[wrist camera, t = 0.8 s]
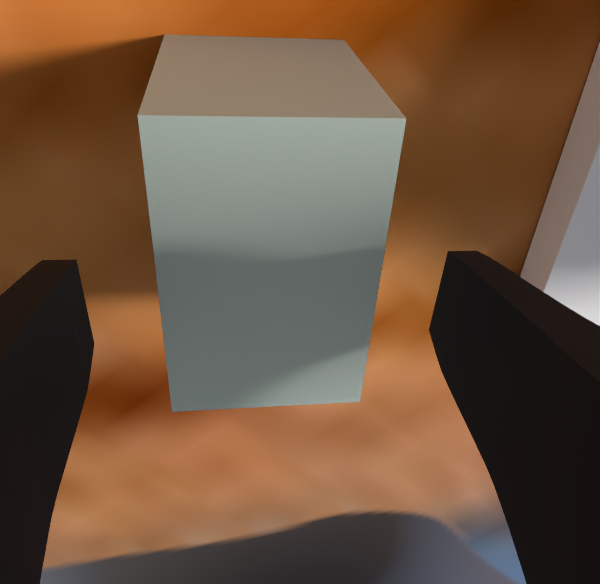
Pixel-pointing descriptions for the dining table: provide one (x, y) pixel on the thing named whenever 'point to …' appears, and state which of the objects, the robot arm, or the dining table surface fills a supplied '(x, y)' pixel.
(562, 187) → the white flat plank
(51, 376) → the robot arm
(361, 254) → the cabinet block
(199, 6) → the dining table surface
